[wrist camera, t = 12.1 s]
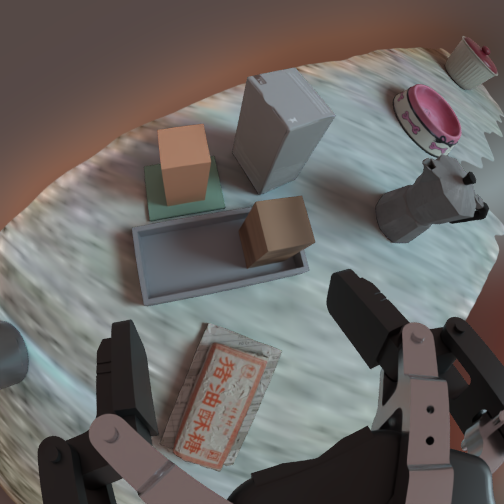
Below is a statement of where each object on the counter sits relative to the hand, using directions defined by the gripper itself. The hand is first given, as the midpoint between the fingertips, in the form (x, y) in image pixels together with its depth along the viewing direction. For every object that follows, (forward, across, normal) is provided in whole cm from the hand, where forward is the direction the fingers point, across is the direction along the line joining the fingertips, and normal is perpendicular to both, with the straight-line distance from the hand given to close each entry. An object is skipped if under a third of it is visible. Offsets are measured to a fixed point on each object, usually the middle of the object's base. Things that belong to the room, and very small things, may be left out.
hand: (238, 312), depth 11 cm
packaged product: (+10, +1, +26) cm, 28 cm away
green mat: (+30, -1, +6) cm, 30 cm away
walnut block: (+22, -9, +12) cm, 27 cm away
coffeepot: (+22, -35, +13) cm, 43 cm away
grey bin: (+22, -4, +13) cm, 26 cm away
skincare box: (+31, -12, +5) cm, 33 cm away
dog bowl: (+38, -56, -2) cm, 67 cm away
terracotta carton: (+29, -1, +5) cm, 30 cm away
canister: (+56, -99, -21) cm, 116 cm away
